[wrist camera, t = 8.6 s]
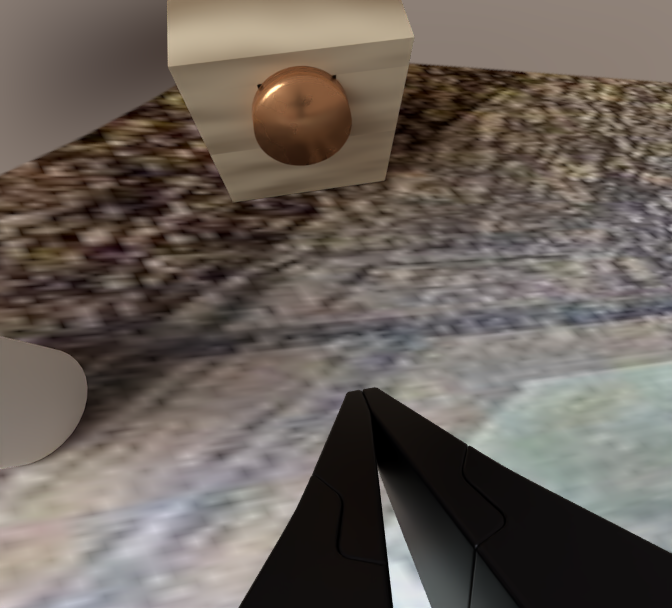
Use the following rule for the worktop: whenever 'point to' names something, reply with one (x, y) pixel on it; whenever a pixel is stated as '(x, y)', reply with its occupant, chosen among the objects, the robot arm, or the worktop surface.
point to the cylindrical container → (37, 400)
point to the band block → (280, 53)
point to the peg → (301, 116)
